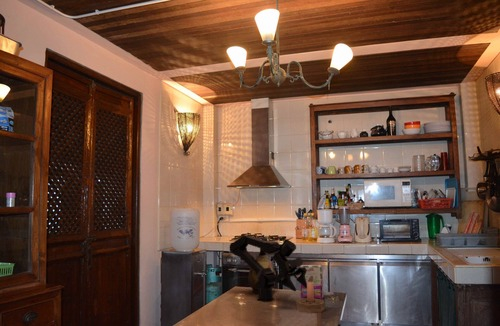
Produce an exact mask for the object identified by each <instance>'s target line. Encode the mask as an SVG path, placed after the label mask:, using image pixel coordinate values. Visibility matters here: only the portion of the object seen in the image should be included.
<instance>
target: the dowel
mask: <svg viewBox="0 0 500 326" xmlns="http://www.w3.org/2000/svg"><path fill="white" fill-rule="evenodd" d="M307 303H314V285H313V282H307Z"/></svg>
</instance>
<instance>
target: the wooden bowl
mask: <svg viewBox="0 0 500 326" xmlns="http://www.w3.org/2000/svg"><path fill="white" fill-rule="evenodd" d="M295 302H296V304H295V305H296V310H298V311H299V312H301V313H309V314H316V313H322V312H323V311H325V310H326V303H325V301H324V300H323V299H314V303H307V298H299V299H298V300H296V301H295Z"/></svg>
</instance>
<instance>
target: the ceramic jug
mask: <svg viewBox="0 0 500 326" xmlns="http://www.w3.org/2000/svg"><path fill="white" fill-rule="evenodd" d="M261 240H264V241H268V237H266V236H264V237H262V238H261ZM255 260H256V261H257V262H258V263H259V264H260V265H261V266H262V267H263V268H270V269H271V270H272V271H273V272H275V273H274V274H275V275H276V276H277V273H276V270H275V267H274V265H273V264H272V263H273V262H271V261H270V260H271V259H270V258H269V257H268V254H267V253H266V252H264V251H263V250H262V249H261V248H259V253H258V255H257V257H255ZM247 280H248V281H247V282H248V285H249V287H251V289H252V294H256V295H259V288H257V287H256V283H257V282H258V281H259V280H258V277H257V274H256V273H255V272H254V271H253V270H252V269H251V268H250V267H249V271H248V276H247ZM275 285H276V283H275V284H274V286H275Z"/></svg>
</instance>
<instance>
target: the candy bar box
mask: <svg viewBox="0 0 500 326" xmlns="http://www.w3.org/2000/svg"><path fill="white" fill-rule="evenodd" d="M300 267H305V268H306V270H307V271H306V274H305V279H306V282H313V285H314V299H321V300H323V298H324V279H323V265H322V264H321V265H320V264H302V265H300V266H299V268H300ZM305 298H307V288H305V287H304V286H303V285H302V284H301V283H300V299H305Z"/></svg>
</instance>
